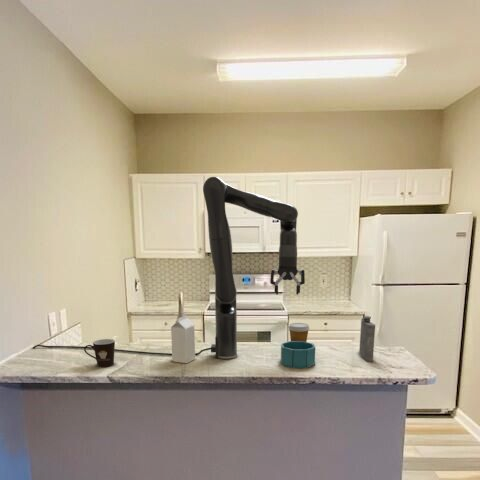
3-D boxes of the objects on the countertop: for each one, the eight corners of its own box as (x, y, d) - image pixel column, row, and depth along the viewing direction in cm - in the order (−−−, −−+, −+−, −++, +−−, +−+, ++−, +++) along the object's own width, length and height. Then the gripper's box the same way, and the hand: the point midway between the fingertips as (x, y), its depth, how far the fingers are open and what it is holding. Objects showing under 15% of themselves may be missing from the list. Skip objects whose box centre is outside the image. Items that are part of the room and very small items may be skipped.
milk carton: (195, 359, 175) (194, 316, 171) (186, 363, 169) (185, 319, 165) (181, 357, 178) (179, 314, 174) (172, 361, 172) (170, 317, 168)
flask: (364, 361, 171) (367, 320, 167) (356, 351, 185) (359, 313, 181) (373, 361, 171) (376, 320, 167) (364, 351, 185) (367, 313, 181)
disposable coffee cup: (308, 347, 192) (308, 322, 190) (309, 353, 183) (310, 327, 181) (287, 347, 193) (288, 322, 191) (288, 352, 184) (288, 327, 182)
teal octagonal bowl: (282, 368, 163) (283, 350, 162) (279, 357, 176) (280, 341, 175) (316, 368, 163) (317, 350, 161) (311, 358, 176) (311, 341, 175)
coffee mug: (120, 362, 170) (119, 339, 168) (107, 369, 162) (106, 345, 160) (97, 360, 174) (95, 337, 172) (84, 366, 166) (82, 342, 164)
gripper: (303, 255, 171) (302, 293, 174) (270, 255, 171) (269, 293, 174) (306, 256, 163) (305, 295, 167) (271, 256, 164) (270, 295, 167)
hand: (287, 294), depth 171 cm, fingers open, 8 cm apart
